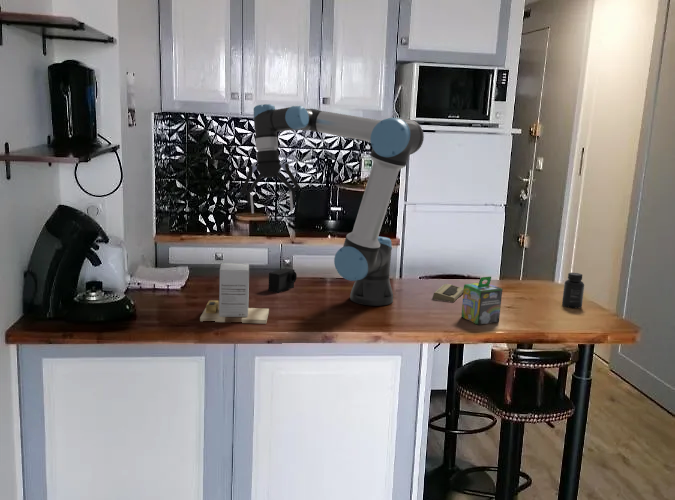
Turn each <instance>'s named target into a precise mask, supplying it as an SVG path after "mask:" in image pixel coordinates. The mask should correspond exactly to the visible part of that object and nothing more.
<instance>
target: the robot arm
mask: <svg viewBox="0 0 675 500" xmlns="http://www.w3.org/2000/svg"><path fill="white" fill-rule="evenodd" d="M252 121H253V125H254V133H255V149H256V150H257V152H256V160H257V162H256V163H257V165H255V166H254V165H249V166H248V172H247V176H246V177H245V180H244V183H243V186H242V188H241V190H240V192H241V193H242V194H245V195H246V201H247V202H246V203H247V204H248V205H250V207H251V214H254V213H255V211H254V210H255V209H254V208H255V207H254V199H253V198H254V197H253V194H251V193H252V192H253V190H254V189H255V187H257V185H258V183H259V182H260V181H261V179H262V178H264V179H267V178H268V179H269V178H276V177H277V178H278V179H279V180H280V181H281V182H282V183H283V184H284V185H285V186H286V187H287V188H288V190H290V191H289V206H290V211H294V204H293V203H294V202H293V201H296V200H297V199H296V191H297V190H300V189H301V187H300V185H299V183H298V181H297V180H296V177H294V175H293V173H292V171H291V169H290V165H289V163H288V162H287V163H283V164H281V163H280V153H279V151H278V149H279V141H278V133H279V132H285V131H307V132H315V133H322V134H327V135H331V136H332V135H333V136H338V137H343V138H348V139H354V140H360V141H364V142H370V145H371V147H372V149H371V152H370V158H371V160H372V165H371V169H370V173H369V176H368V179H367V181H366V185H365V188H364V192H363V195H362V198H361V202H360V205H359V209H358V212H357V216H356V218H355V222H354V224H353V229H352V231H351V232H349V233H347V234H346V236H345V239H344V243H343V245H342V247H341V248H339V249H338V250H337V252H336V253H335V255H334V258H333V262H334V267H335V269H336V272H337V273H338V274H339V276H340V277H342V278H343V279H345V280H347V281H351V282H353V286H352V288H351V291H350V295H349V298H350V299H349V300H350V301H351V302H353V303H355V304H359V305H365V306H373V307H374V306H375V307H376V306H378V307H379V306H387V305H390V304H392V303H393V302H394V294H393V288H392V286H391V280H390V274H391V263H392V261H391V260H392V249H393V247H392V244H393V243H392V240H391V238H390V237H386V236H381V235H380V234H381V233H380V232H381V229H382V225H383V223H384V220H385V217H386V214H387V211H388V207H389V204H390V201H391V197H392V195H393V192H394V189H395V185H396V182H397V180H398V179H397V178H398V175H399V172H400V170H401V169H402V170H403V168H406V167H407V163H408V161H409V157H410V156H411V155H412V154H415V153H416V152H418V151H419V150H420V149H421V147H422V146H423V142H424V139H425V138H424V137H425V135H424V134H425V133H424V131H423V128H422V126H421V125H420V124H419V123H418V122H417V121H415V120H413V119H411V118H399V117H395V116H394V117H389V118H384V119H382V120H381V119H375V118H369V117H368V118H367V117H364V116H363V117H362V116H356V115H352V114H344V113H337V112H332V111H325V110H319V109H317V108H305V107H304V106H303V105H295V106H294V105H292V106H290V107H284V108H278V109H277V108H275V105H274V104H271V103H268V104H267V103H266V104H258V105H255V106H254V107H253V120H252ZM281 168H282V170H284V171H285V172H286V174H287V176H288V177H289V178H290V180H291V182H292V184H293V185H294V186H293V185H291V183H289V181H288V180H287V179H286V178H285V177H284V176H283V175H282V174H281V173H280V170H281ZM255 171H257V172H258V173H259V174H258V176H257V177H256V178H255V180H254V181H253V183H252V184H251V185H250V187H249V188H248V185H249V183H250V181H251V177H252V174H253V173H254V172H255ZM247 188H248V190H247ZM379 235H380V236H379Z"/></svg>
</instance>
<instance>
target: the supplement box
mask: <svg viewBox="0 0 675 500" xmlns="http://www.w3.org/2000/svg"><path fill="white" fill-rule="evenodd" d="M249 288H250V264H249V263H227V262H226V263H225V262H224V263H220V267H219V297H218V299H219V300H218V301H219V317H248V308H249V298H250V297H249V294H250V292H249V291H250V290H249Z"/></svg>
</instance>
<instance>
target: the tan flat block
mask: <svg viewBox="0 0 675 500" xmlns="http://www.w3.org/2000/svg"><path fill="white" fill-rule="evenodd" d="M463 291H464V287H461V286H457V285H453V284H450V283H444V284H442V286H440V287H439V288H438V289H437V290H436V291H434V292H433V295H432V300H436V301H441V300H442V302H448V301H450V302H449V303H454V302H456V301H457V300H458V299H459V297H461V296H462V295H463V294H462V293H463Z"/></svg>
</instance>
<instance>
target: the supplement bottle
mask: <svg viewBox="0 0 675 500" xmlns="http://www.w3.org/2000/svg"><path fill="white" fill-rule="evenodd" d="M584 291H585V283H584V282H583V274H581V273H578V272H569V273H568V274H567V280H565V281H564V284H563V291H562V293H563V294H562V300H561V301H562V303H561V304H562V306H563V307H566V308H569V309H581V308H582V307H583V299H584Z"/></svg>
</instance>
